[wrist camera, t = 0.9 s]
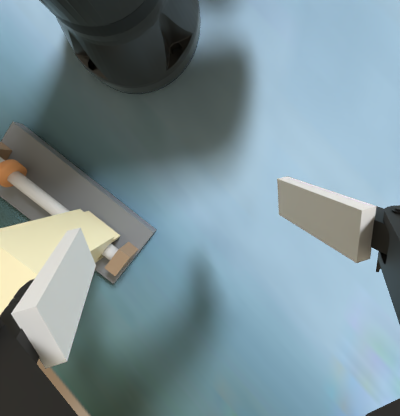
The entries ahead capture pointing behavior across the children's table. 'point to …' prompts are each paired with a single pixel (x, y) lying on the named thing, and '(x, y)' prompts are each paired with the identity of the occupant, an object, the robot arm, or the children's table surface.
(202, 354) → the children's table surface
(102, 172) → the children's table surface
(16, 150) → the rod bead slider
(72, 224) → the pale yellow block
